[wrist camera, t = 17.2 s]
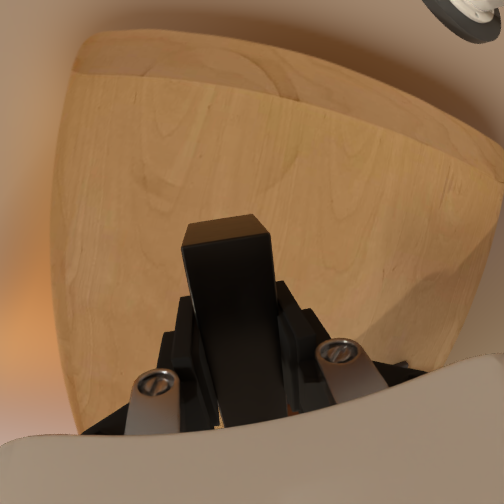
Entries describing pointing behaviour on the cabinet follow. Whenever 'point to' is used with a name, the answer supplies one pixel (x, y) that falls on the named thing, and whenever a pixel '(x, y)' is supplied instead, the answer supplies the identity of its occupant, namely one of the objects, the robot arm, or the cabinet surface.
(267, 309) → the cake knife
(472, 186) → the cabinet surface
